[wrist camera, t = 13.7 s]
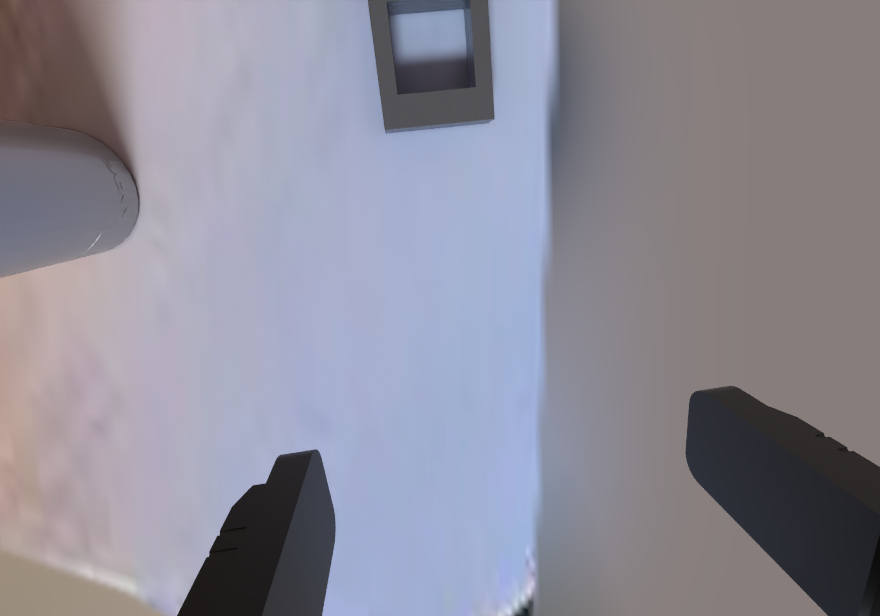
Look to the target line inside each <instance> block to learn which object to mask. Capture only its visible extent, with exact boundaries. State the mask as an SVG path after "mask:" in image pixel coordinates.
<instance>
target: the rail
mask: <svg viewBox="0 0 880 616" xmlns="http://www.w3.org/2000/svg"><path fill="white" fill-rule="evenodd" d="M368 5H369V12H370V20H371V28H372V35H373V43H374V50H375V58H376V66H377V73H378V81H379V88H380V96H381V104H382V111H383V119H384V126H385V132H386V133H395V132H405V131H415V130H424V129H434V128H444V127H454V126H464V125H474V124H484V123H489V122H490V121H492V120H494V103H493V85H492V68H491V50H490V32H489V15H488V0H368ZM456 9H464V14H465V28H466V41H467V55H468V69H469V83H470V88H462V89H451V90H441V91H430V92H420V93H409V94H399V95H398V94H397V86H396V77H395V69H394V61H393V52H392V44H391V36H390V28H389V19H388V15H397V14H409V13H421V12H432V11H444V10H456Z"/></svg>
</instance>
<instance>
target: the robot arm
mask: <svg viewBox="0 0 880 616" xmlns="http://www.w3.org/2000/svg"><path fill="white" fill-rule="evenodd" d="M137 216H138V195H137V190H136V186H135V184H134V182H133V179H132V177H131V175H130V173H129V171H128V170H127V168H126V167H125V165H124V164H123V162H122V161H121V160H120V159H119V158H118V157H117V156H116V155H115V154H114V153H113V152H112V150H110V149H109V148H108V147H106V146H105V145H104V144H102V143H101V142H100V141H98V140H96V139H94V138H92V137H90V136H88V135H86V134H84V133H81V132H77V131H74V130H71V129H64V128H57V127H50V126H43V125H37V124H30V123H24V122H18V121H11V120H4V119H0V278H2V277H6V276H10V275H14V274H18V273H22V272H26V271H30V270H34V269H38V268H42V267H46V266H50V265H54V264H57V263H62V262H66V261H70V260H74V259H78V258H82V257H86V256H90V255H94V254H97V253H101V252H104V251H107V250H110V249H113V248H114V247H116V246H117V245H119V244H121V243H122V242H123V241H124V240H125V239H126V238H127V237H128V236H129V235H130V233H131V231H132V229H133V228H134V226H135V224H136V220H137ZM686 459H687V463H688V466H689V469H690V471H691V473H692V475H693V476H694V478H695V479H696V481H697V482H698V483H699V484H700V485H701V486H702V487H703V488H704V489H705V490H706V491H707V492H708V493H709V494H710V495H711V496H712V497H713V498H714V499H715V500H716V502H718V504H719V505H720V506H722V508H723V509H724V510H725V511H726V512H727V513H728V514H729V515H730V516H731V517H732V518H733V519H734V520H735V521H736V522H737V523H738V524H739V525H740V526H741V527H742V528H743V529H744V530H745V531H746V532H747V533H748V534H749V535H750V536H751V537H752V538H753V539H754V540H755V541H756V542H757V543H758V544H759V545H760V547H761V548H762V549H763V550H764V551H765V552H766V553H767V554H768V555H769V556H770V557H771V558H772V559H773V560H774V561H775V562H776V563H777V564H778V565H779V566H780V567H781V568H782V569H783V570H784V571H785V572H786V573H787V574H788V575H789V576H790V577H791V578H792V579H793V580H794V581H795V582H796V583H797V584H798V585H799V586H800V587H801V588H802V589H803V590H804V591H805V592H806V593H807V595H809V597H810V598H811V599H812V600H813V601H814V602H815V603H816V604H817V605H818V606H819V607H821V609H822V610H823V611H824V612H825V613H826V614H827V615H828V616H880V467H879V466H877V465H875V464H874V463H872V462H871V461H869V460H867V459H866V458H864V457H862V456H861V455H859V454H857V453H856V452H854V451H850V452H849V451H848V449H847V447H845V446H844V445H842V444H841V443H839V442H837V441H835V440H834V439H832V438H831V437H825V436H824V433H822V432H821V431H819V430H817V429H816V428H814V427H813V426H811V425H809V424H808V423H806V422H804V421H803V420H801V419H799V418H798V417H795V416H793V415H790V414H787V413H785V412H782V411H779V410H777V409H774V408H772V407H769V406H766V405H765V404H763V403H762V402H760V401H758V400H757V399H755V398H754V397H752V396H751V395H749V394H747V393H746V392H744V391H742V390H741V389H739V388H737V387H734V386H727V387H721V388H714V389H708V390H701V391H696V392H694V393H693V394H692V396H691V398H690V403H689V415H688V428H687V440H686ZM334 543H335V514H334V508H333V504H332V500H331V495H330V491H329V487H328V483H327V479H326V475H325V471H324V466H323V462H322V458H321V455H320V453H319V451H318V450H310V451H303V452H297V453H290V454H284V455H280V456H278V458H277V459H276V461H275V464H274V466H273V468H272V471H271V473H270V475H269V477H268V480H267V482H266V484H260V485H253V486H252V487H251V488H250V489H249V490H248V491H247V492H246V493H245V494H244V495H243V496H242V497H241V498H240V499H239V500H238V501H237V502H236V503H235V504H234V506H233V507H232V508H231V510H230V512H229V514H228V516H227V518H226V520H225V522H224V524H223V526H222V528H221V530H220V536H217V538H216V540H215V542H214V544H213V546H212V548H211V550H210V552H209V553H210V555H209V557H207V558H206V560H205V562H204V564H203V565H202V567H201V569H200V571H199V573H198V575H197V577H196V579H195V581H194V583H193V585H192V587H191V589H190V591H189V593H188V595H187V597H186V599H185V601H184V603H183V605H182V607H181V609H180V611H179V613H178V615H177V616H322V612H323V606H324V600H325V594H326V589H327V583H328V577H329V572H330V566H331V560H332V555H333V549H334Z"/></svg>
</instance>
